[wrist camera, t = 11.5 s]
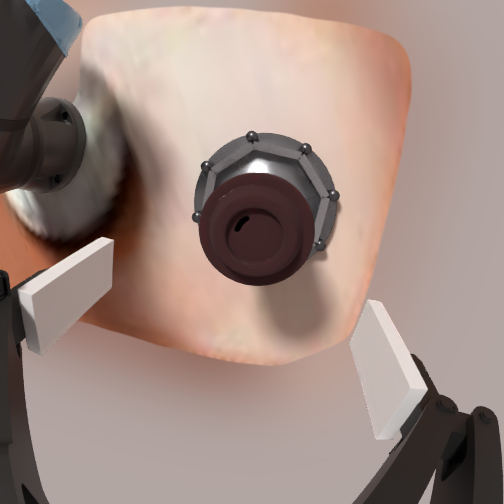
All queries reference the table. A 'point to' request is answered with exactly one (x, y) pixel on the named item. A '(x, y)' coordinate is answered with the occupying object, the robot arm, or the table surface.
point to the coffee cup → (257, 229)
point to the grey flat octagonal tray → (277, 163)
